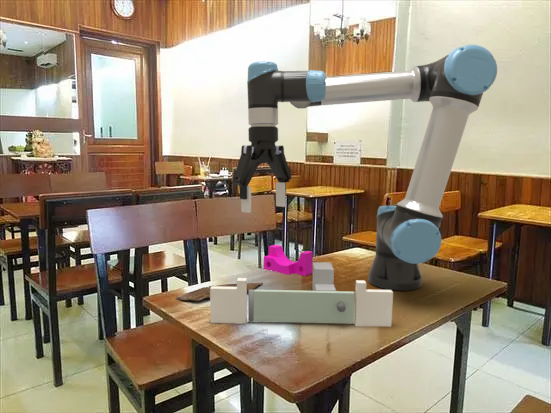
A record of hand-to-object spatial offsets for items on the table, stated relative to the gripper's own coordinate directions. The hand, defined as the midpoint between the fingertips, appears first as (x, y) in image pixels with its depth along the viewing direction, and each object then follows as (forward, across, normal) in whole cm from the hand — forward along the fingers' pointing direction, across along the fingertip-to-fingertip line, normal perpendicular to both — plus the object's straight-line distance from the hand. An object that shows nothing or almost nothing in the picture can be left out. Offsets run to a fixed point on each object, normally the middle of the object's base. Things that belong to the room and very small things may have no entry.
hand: (264, 209), depth 109 cm
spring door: (+24, +15, +9) cm, 29 cm away
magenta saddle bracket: (+24, -22, -10) cm, 34 cm away
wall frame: (+24, +15, +9) cm, 29 cm away
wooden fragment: (+25, +6, -6) cm, 26 cm away
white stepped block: (+24, -10, +12) cm, 29 cm away
